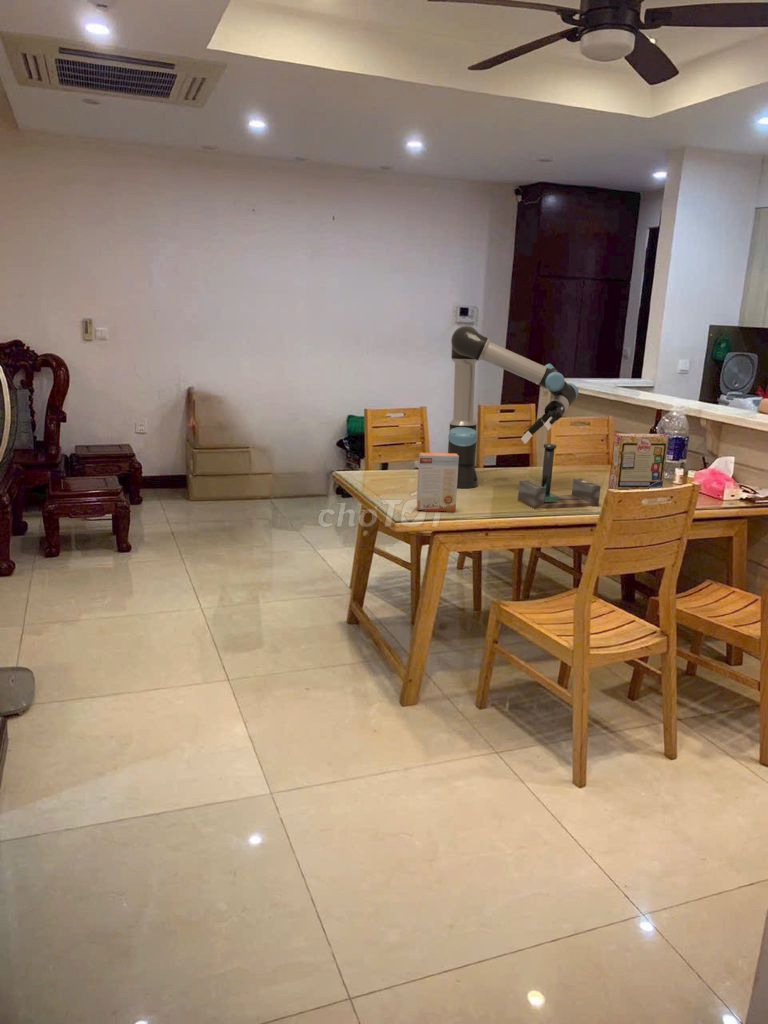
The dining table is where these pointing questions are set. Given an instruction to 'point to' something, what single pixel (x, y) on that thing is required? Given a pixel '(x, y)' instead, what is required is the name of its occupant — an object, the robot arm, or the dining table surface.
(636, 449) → the board game box
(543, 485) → the green pole stand
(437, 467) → the cracker box
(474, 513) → the dining table surface
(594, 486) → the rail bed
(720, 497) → the dining table surface
